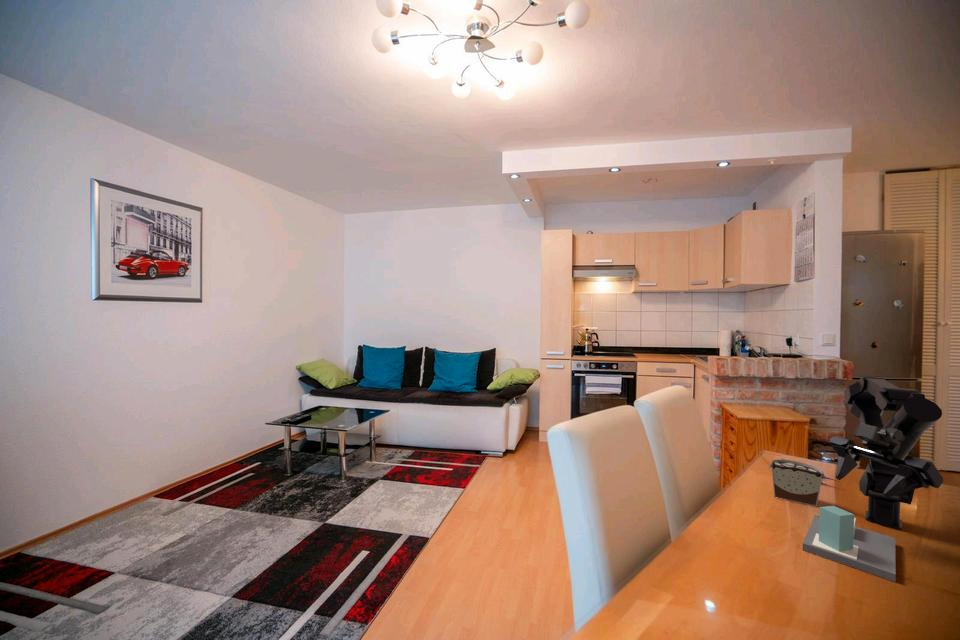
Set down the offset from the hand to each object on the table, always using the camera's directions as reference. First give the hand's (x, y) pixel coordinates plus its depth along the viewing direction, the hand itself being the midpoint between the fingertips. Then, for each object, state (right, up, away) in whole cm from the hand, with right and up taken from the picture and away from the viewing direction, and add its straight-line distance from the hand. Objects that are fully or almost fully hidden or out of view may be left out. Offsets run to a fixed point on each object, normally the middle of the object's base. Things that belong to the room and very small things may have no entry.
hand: (859, 487), depth 89 cm
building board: (-3, -13, -1) cm, 14 cm away
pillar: (-8, -11, -3) cm, 14 cm away
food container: (+5, -14, +25) cm, 29 cm away
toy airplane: (+20, -15, +39) cm, 46 cm away
